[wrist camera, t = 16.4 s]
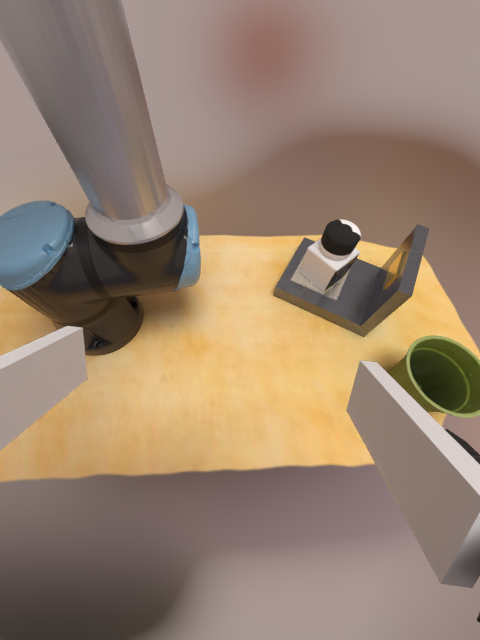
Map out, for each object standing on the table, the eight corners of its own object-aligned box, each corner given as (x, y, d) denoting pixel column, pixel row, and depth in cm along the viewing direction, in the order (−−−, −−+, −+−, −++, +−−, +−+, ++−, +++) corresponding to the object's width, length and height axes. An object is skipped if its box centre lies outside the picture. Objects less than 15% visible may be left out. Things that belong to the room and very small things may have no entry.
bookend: (273, 295, 54) (287, 244, 41) (301, 246, 61) (320, 189, 48) (363, 336, 50) (411, 296, 37) (382, 280, 57) (429, 228, 44)
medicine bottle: (323, 293, 51) (348, 251, 40) (298, 271, 53) (315, 226, 43) (345, 275, 53) (374, 231, 42) (320, 255, 55) (341, 208, 45)
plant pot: (443, 429, 43) (507, 422, 33) (373, 420, 43) (416, 411, 33) (426, 362, 48) (478, 339, 38) (364, 355, 49) (399, 330, 39)
